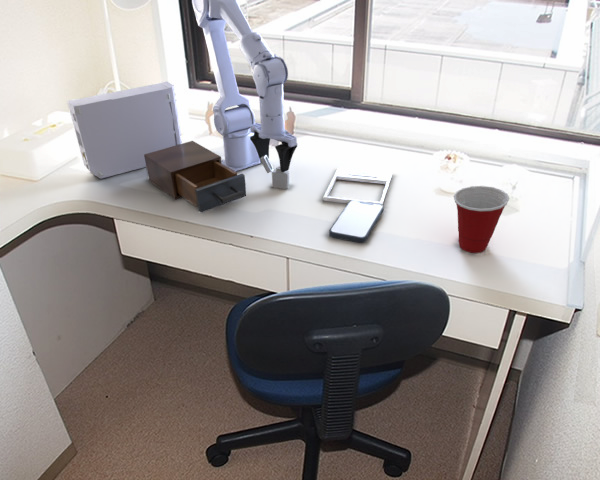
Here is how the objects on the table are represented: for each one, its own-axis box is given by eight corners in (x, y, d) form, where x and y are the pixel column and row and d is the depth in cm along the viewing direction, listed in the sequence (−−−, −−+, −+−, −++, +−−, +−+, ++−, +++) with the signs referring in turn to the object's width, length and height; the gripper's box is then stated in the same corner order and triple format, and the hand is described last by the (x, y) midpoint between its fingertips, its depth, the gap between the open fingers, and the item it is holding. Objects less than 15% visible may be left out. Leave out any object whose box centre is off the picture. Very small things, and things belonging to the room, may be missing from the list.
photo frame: (392, 171, 147) (382, 202, 133) (392, 175, 148) (382, 206, 134) (338, 166, 150) (323, 196, 136) (338, 170, 151) (323, 200, 137)
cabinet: (223, 183, 146) (220, 156, 142) (175, 199, 139) (170, 172, 134) (196, 166, 155) (192, 140, 151) (149, 180, 148) (143, 154, 143)
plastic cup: (447, 230, 125) (456, 181, 117) (497, 236, 122) (509, 186, 115) (443, 255, 117) (451, 204, 109) (497, 263, 114) (509, 211, 107)
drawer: (257, 203, 135) (256, 181, 132) (211, 220, 128) (208, 198, 125) (217, 178, 146) (215, 158, 143) (173, 193, 140) (169, 172, 136)
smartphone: (365, 245, 121) (385, 211, 132) (365, 239, 120) (385, 205, 131) (326, 237, 124) (349, 204, 135) (327, 231, 123) (349, 199, 134)
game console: (186, 157, 160) (176, 86, 148) (93, 181, 148) (73, 106, 136) (178, 150, 164) (167, 81, 152) (86, 174, 152) (66, 100, 140)
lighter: (289, 186, 144) (288, 156, 139) (287, 189, 143) (286, 159, 138) (263, 183, 146) (261, 154, 141) (261, 186, 144) (259, 156, 139)
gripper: (239, 110, 134) (244, 163, 143) (280, 124, 126) (282, 179, 134) (261, 103, 138) (264, 155, 147) (302, 116, 130) (303, 170, 138)
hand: (274, 166), depth 141 cm, fingers open, 7 cm apart
